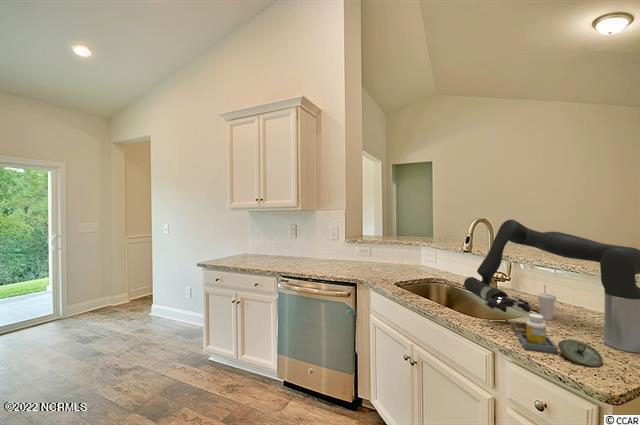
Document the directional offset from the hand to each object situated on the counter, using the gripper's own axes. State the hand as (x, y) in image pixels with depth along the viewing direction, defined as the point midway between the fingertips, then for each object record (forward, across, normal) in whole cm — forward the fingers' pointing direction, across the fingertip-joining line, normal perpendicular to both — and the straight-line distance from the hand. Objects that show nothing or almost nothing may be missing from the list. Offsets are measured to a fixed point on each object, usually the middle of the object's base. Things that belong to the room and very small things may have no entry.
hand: (517, 309), depth 111 cm
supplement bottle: (+10, 0, +8) cm, 13 cm away
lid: (+19, +7, +9) cm, 22 cm away
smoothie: (-15, +21, +9) cm, 27 cm away
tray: (+11, 0, +9) cm, 14 cm away
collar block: (-1, +4, +9) cm, 10 cm away
